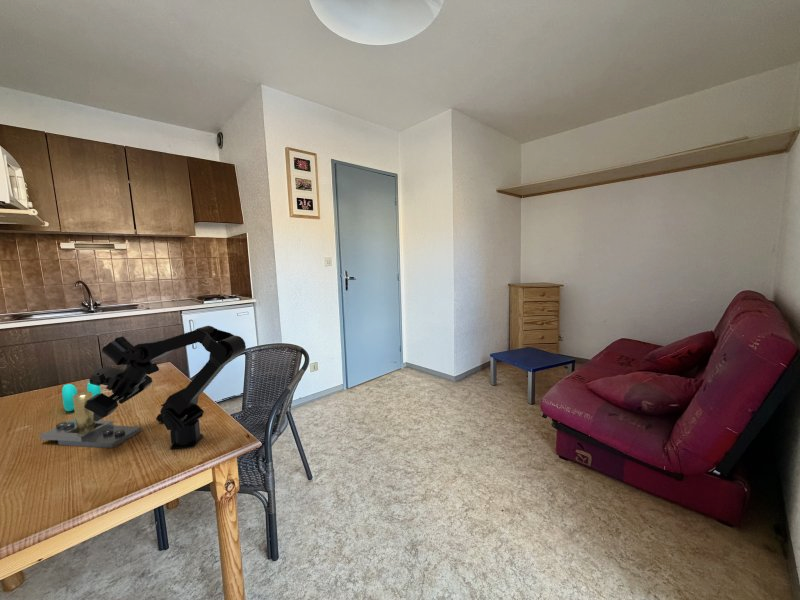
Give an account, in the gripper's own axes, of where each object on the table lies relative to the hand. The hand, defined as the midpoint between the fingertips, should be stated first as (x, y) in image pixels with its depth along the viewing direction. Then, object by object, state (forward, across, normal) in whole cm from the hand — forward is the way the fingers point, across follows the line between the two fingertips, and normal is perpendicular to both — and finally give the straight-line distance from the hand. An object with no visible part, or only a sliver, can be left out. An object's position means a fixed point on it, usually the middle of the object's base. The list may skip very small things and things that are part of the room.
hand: (108, 411), depth 97 cm
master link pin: (+12, 0, -1) cm, 12 cm away
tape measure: (+1, -10, +15) cm, 18 cm away
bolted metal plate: (+11, 0, +1) cm, 11 cm away
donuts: (+28, -23, -15) cm, 39 cm away
